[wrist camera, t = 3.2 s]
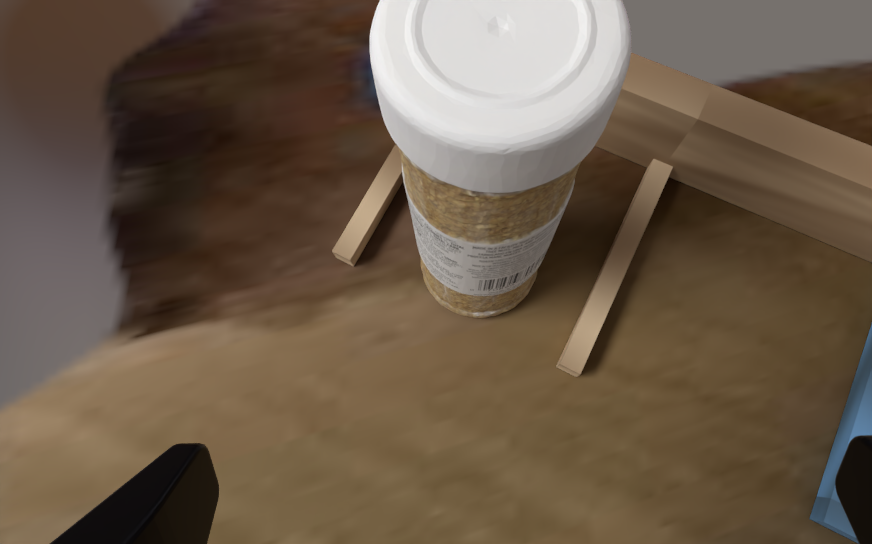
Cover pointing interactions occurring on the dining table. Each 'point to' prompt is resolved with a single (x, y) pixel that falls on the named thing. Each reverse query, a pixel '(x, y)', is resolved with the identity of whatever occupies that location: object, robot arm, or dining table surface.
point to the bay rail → (721, 177)
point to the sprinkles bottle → (493, 129)
